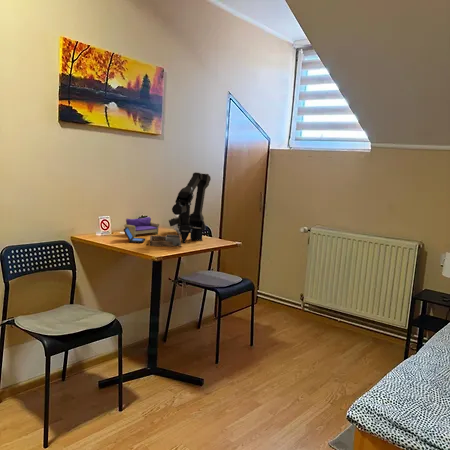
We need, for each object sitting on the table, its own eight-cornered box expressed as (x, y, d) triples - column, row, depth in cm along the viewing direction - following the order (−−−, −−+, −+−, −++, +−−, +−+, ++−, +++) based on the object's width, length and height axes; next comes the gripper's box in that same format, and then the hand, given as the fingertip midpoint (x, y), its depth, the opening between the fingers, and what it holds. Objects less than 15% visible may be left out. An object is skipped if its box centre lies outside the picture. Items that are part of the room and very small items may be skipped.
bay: (171, 240, 262) (171, 236, 262) (172, 246, 244) (172, 242, 244) (150, 239, 260) (150, 235, 260) (149, 245, 243) (149, 241, 242)
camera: (190, 232, 299) (192, 207, 297) (187, 236, 281) (188, 210, 279) (174, 230, 299) (175, 206, 297) (169, 235, 281) (170, 209, 279)
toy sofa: (133, 237, 265) (134, 220, 264) (123, 235, 270) (124, 218, 269) (159, 234, 282) (160, 218, 280) (149, 232, 287) (150, 216, 285)
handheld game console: (142, 244, 247) (143, 230, 246) (122, 243, 247) (123, 229, 246) (145, 240, 260) (146, 227, 259) (126, 239, 259) (126, 226, 258)
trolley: (179, 242, 260) (179, 233, 259) (180, 246, 248) (181, 237, 247) (165, 241, 258) (165, 233, 258) (165, 245, 247) (166, 236, 246)
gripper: (169, 210, 260) (167, 237, 262) (170, 214, 241) (169, 243, 243) (188, 211, 261) (187, 238, 263) (191, 215, 243) (189, 244, 245)
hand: (183, 241), depth 254 cm, fingers open, 9 cm apart
